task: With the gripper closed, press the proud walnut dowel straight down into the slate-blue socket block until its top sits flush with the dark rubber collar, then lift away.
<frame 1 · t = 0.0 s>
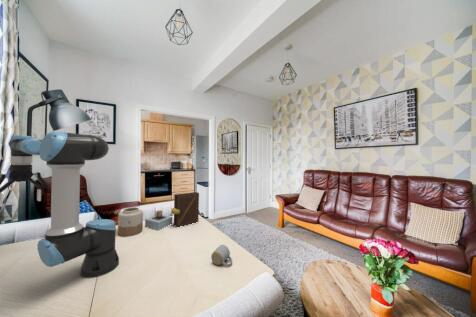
hand: (20, 203, 96), 28 cm above the table, fingers open, 13 cm apart
book: (185, 224, 146), on the table
dowel: (159, 215, 142), point 8 cm above the table, slide at 5.0 cm
vase: (130, 232, 129), on the table
ceramic mug: (222, 262, 96), on the table
socket block: (158, 225, 142), on the table
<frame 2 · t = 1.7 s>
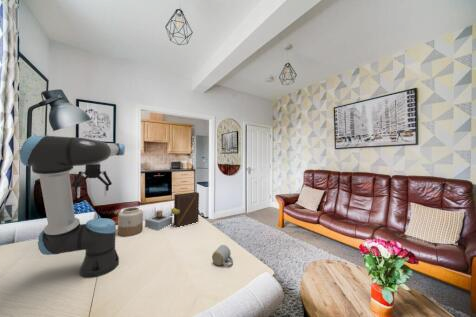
hand: (92, 196, 115), 28 cm above the table, fingers open, 13 cm apart
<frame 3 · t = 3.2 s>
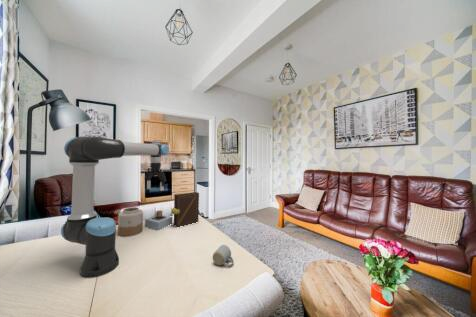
hand: (155, 189, 140), 29 cm above the table, fingers open, 13 cm apart
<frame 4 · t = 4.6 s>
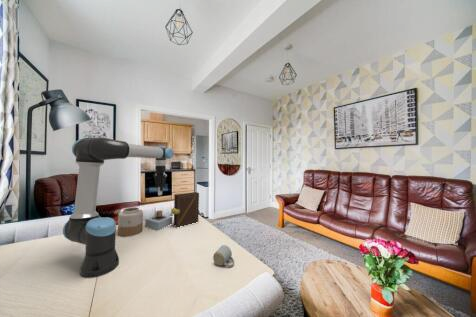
hand: (160, 194, 142), 25 cm above the table, fingers closed
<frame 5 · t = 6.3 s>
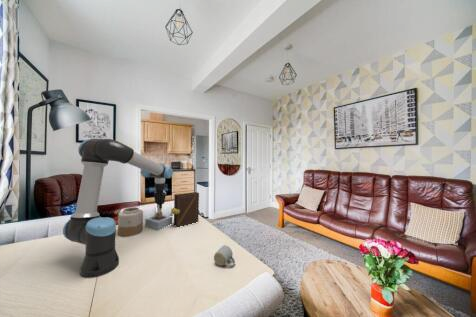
hand: (159, 212, 142), 11 cm above the table, fingers closed
dowel: (159, 216, 142), point 7 cm above the table, slide at 3.8 cm, touching gripper
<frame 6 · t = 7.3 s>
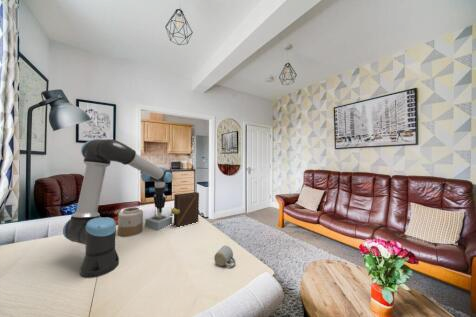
hand: (159, 216, 142), 7 cm above the table, fingers closed
dowel: (159, 220, 142), point 4 cm above the table, slide at 0.7 cm, touching gripper
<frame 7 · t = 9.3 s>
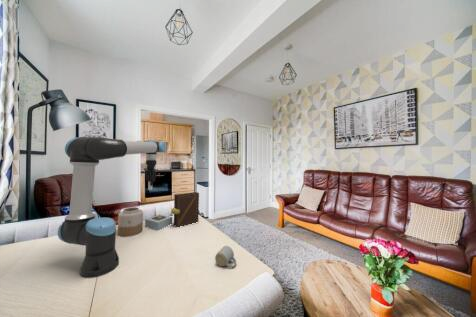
hand: (150, 189, 141), 29 cm above the table, fingers closed
dowel: (159, 220, 142), point 4 cm above the table, slide at 0.7 cm
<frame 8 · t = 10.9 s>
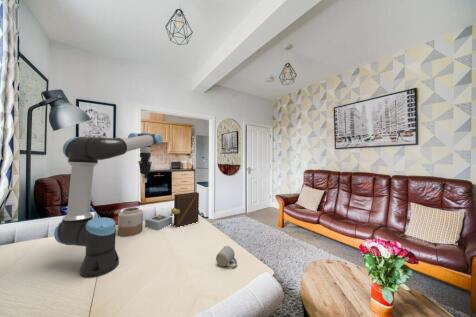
hand: (144, 182, 140), 34 cm above the table, fingers closed
at the end: dowel slide at 0.7 cm; dowel touching nothing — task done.
